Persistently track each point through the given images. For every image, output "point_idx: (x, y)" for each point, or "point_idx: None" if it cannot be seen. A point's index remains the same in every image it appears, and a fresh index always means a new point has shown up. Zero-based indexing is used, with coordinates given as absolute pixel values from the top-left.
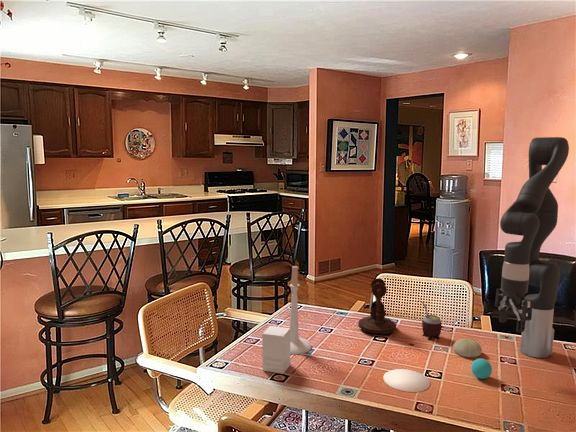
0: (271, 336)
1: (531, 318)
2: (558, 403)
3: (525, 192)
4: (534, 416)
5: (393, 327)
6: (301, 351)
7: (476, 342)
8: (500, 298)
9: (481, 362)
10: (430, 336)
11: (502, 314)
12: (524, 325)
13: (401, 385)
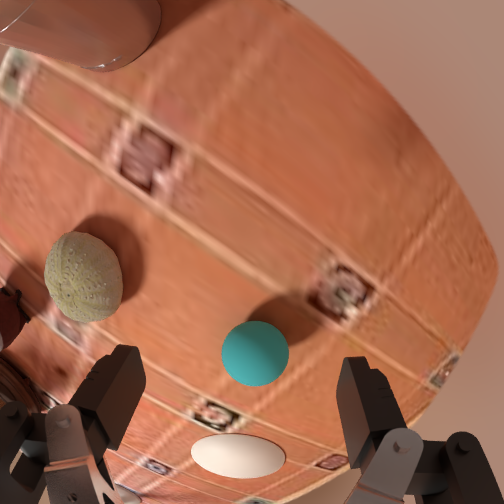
0: None
1: (480, 446)
2: (444, 213)
3: None
4: (452, 317)
5: (14, 379)
6: (136, 498)
7: (70, 261)
8: (18, 497)
9: (266, 381)
10: (20, 317)
11: (121, 421)
12: (395, 407)
13: (257, 469)
